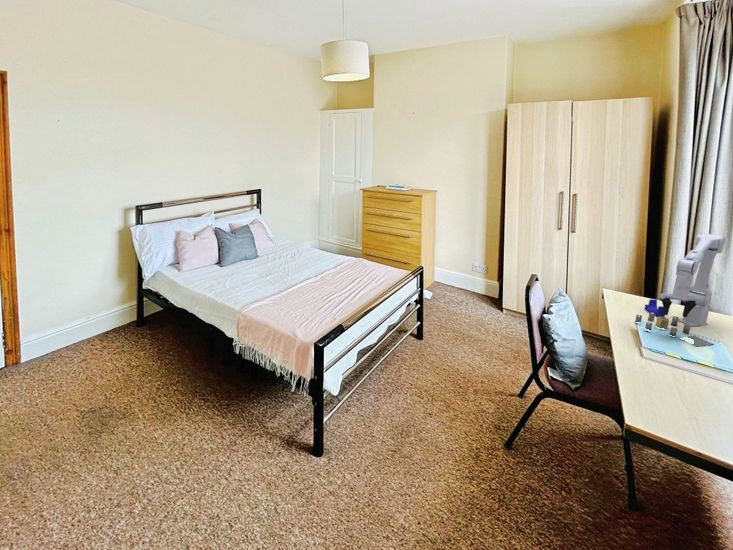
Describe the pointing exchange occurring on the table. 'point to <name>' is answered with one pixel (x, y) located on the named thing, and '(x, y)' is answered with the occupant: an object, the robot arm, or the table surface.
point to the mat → (699, 341)
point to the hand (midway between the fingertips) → (674, 315)
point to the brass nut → (662, 322)
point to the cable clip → (655, 308)
